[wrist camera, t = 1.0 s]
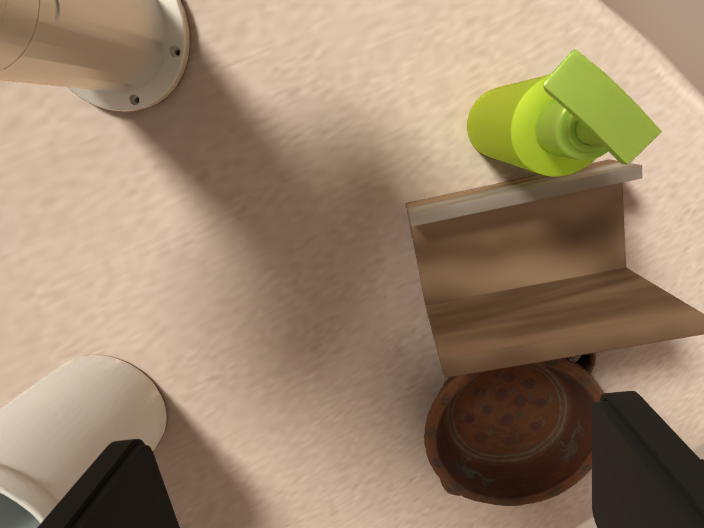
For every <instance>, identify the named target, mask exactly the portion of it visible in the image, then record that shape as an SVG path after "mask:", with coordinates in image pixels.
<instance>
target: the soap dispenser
mask: <svg viewBox="0 0 704 528" xmlns="http://www.w3.org/2000/svg"><path fill="white" fill-rule="evenodd" d="M467 131H468V136H469V139H470V141H471V143H472V145H473V146H474V147H475V148H476V149H477V150H478V151H479V152H480V153H482V154H483V155H485V156H488V157H491V158H494V159H497V160H500V161H503V162H506V163H509V164H512V165H515V166H517V167H520V168H523V169H526V170H529V171H532V172H535V173H538V174H541V175H545V176H565V175H569V174H572V173H575V172H577V171H580V170H582V169H583V168H585V167H586V166H588V165H589V164H591V163H592V162H593V161H594V160H595V159H596V158H598V157H600V156H602V155H604V154H605V153H607V152H608V151H609V152H610V153H611V154H612V155H613V156H614V157H615V158H616V159H617V160H618V161H619V162H620V163H621V164H625V165H628V164H629V163H630V162H631V161H632V160H633V159H634V158H635V157H636V156H638V155H639V154H640V153H641V152H642V151H643V150H644V149H645V148H646V147H647V146H648V145H649V144H650V143H651V142H652V141H653V140H654V139H655V138H656V137H657V136H658V135H659V134H660V133H661V132H662V131H661V130H660V129H659V128H658V127H657V126H656V125H655V123H654V122H653V121H652V120H651V119H650V118H649V117H648V116H647V115H646V114H645V113H644V111H643V110H642V109H641V108H640V107H639V106H638V105H637V104H636V103H635V102H634V101H633V100H632V99H631V98H630V97H629V96H628V95H627V94H626V93H625V92H624V91H623V90H622V89H621V88H620V87H619V86H618V85H617V84H616V83H615V82H614V81H613V80H612V79H611V78H610V77H609V76H607V75H606V74H605V73H604V72H603V71H602V70H601V69H599V68H598V67H597V66H596V65H595V64H593V63H592V62H591V61H590V60H589V59H587V58H586V57H585V56H584V55H582V54H581V53H580V52H578V51H577V50H575V49H574V50H573V51H572V52H571V53H570V54H569V55H568V56H567V57H566V58H565V59H564V60H563V62H562V63H561V64H560V65H559V66H558V67H557V68H556V69H555V70H554V72H553V73H552V74H550V75H546V76H542V77H538V78H534V79H530V80H526V81H522V82H518V83H514V84H510V85H506V86H502V87H498V88H494V89H492V90H490V91H488V92H486V93H484V94H483V95H482V96H481V97H480V98H479V99H478V100H477V101H476V102H475V103H474V105H473V107H472V108H471V110H470V113H469V116H468V121H467Z"/></svg>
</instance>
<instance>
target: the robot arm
mask: <svg viewBox="0 0 704 528" xmlns="http://www.w3.org/2000/svg"><path fill="white" fill-rule="evenodd" d="M189 47H190V38H189V26H188V22H187V17H186V13H185V10H184V7H183V5H182V2H181V0H0V80H2V81H12V82H22V83H32V84H42V85H52V86H62V87H68V88H69V89H70V90H71V91H72V92H74V93H75V94H76V95H77V96H79V97H80V98H81V99H83V100H85V101H87V102H89V103H91V104H93V105H95V106H97V107H101V108H104V109H107V110H113V111H138V110H143V109H147V108H149V107H151V106H154V105H156V104H158V103H159V102H161V101H162V100H163V99H165V98H166V97H167V96H169V94H170V93H171V92H172V91H173V90H174V89H175V87H176V86H177V85H178V83H179V81H180V79H181V77H182V76H183V74H184V71H185V68H186V64H187V61H188V56H189ZM178 50H180V55H179V56H178V55H177V51H178ZM138 97H139V101H140V102H139V103H138V101H137V99H138ZM591 411H592V510H593V516H594V519H595V523H596V525H597V528H704V460H703V459H702V460H700V458H699V457H698V456H697V455H696V454H695V453H694V452H693V451H692V450H691V449H690V448H689V447H688V446H687V445H686V444H685V443H684V442H683V440H682V439H681V438H680V437H679V436H678V435H677V434H676V433H675V432H674V431H673V430H672V429H671V428H670V427H669V426H668V425H667V424H666V422H665V421H664V420H663V419H662V418H661V417H660V416H659V415H658V414H657V413H656V412H655V411H654V410H653V409H652V408H651V407H650V406H649V404H648V403H647V402H646V401H645V400H644V399H643V398H642V397H641V396H640V395H639V394H638V393H637V392H635V391H625V392H614V393H604V394H602V395H601V397H600V402H594V403H593V404H592V409H591ZM37 528H180V527H179V524H178V521H177V519H176V516H175V513H174V510H173V507H172V505H171V502H170V499H169V496H168V493H167V491H166V488H165V485H164V482H163V479H162V476H161V474H160V471H159V468H158V465H157V462H156V460H155V457H154V454H153V451H152V449H151V447H150V446H149V445H145V443H144V442H143V441H142V440H141V439H130V440H119V441H114V442H111V443H110V444H109V445H108V446H107V447H106V448H105V449H104V450H103V452H102V453H101V454H100V455H99V456H98V457H97V459H96V460H95V461H94V462H93V463H92V464H91V465H90V467H89V468H88V469H87V470H86V471H85V472H84V474H83V475H82V476H81V477H80V478H79V479H78V481H77V482H76V483H75V484H74V485H73V486H72V488H71V489H70V490H69V491H68V492H67V493H66V495H65V496H64V497H63V498H62V499H61V500H60V502H59V503H58V504H57V505H56V506H55V507H54V509H53V510H52V511H51V512H50V513H49V514H48V516H47V517H46V518H45V519H44V520H43V521H42V523H41V524H40V525H39V526H38V527H37Z"/></svg>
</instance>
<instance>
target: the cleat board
mask: <svg viewBox="0 0 704 528" xmlns="http://www.w3.org/2000/svg"><path fill="white" fill-rule="evenodd" d="M641 178H642V165H637V164H632V163H629V164H628V165H625V164H621V163H620V162H619V161H615V160H605V161H600V162H596V163H591V164H589V165H588V166H586V167H585V168H583V169H582V170H580V171H577V172H575V173H572V174H569V175H565V176H545V175H541V174H540V175H535V176H531V177H526V178H521V179H517V180H512V181H507V182H503V183H498V184H494V185H489V186H484V187H480V188H475V189H470V190H466V191H461V192H457V193H452V194H447V195H443V196H438V197H433V198H429V199H424V200H419V201H415V202H410V203H406V206H407V212H408V217H409V222H410V227H411V232H412V238H413V243H414V248H415V253H416V258H417V263H418V269H419V274H420V279H421V284H422V289H423V294H424V300H425V305H426V310H427V314H428V318H429V321H430V325H431V329H432V333H433V336H434V340H435V344H436V348H437V351H438V355H439V359H440V362H441V366H442V370H443V374H444V377H445V378H446V377H452V376H458V375H464V374H470V373H476V372H482V371H488V370H494V369H500V368H506V367H512V366H518V365H524V364H530V363H536V362H542V361H548V360H554V359H560V358H566V357H572V356H578V355H584V354H589V353H595V352H601V351H607V350H613V349H619V348H625V347H631V346H637V345H643V344H649V343H655V342H661V341H667V340H673V339H679V338H685V337H691V336H697V335H703V334H704V314H703V313H701V312H700V311H698V310H696V309H695V308H693V307H691V306H690V305H688V304H686V303H685V302H683V301H681V300H680V299H678V298H676V297H674V296H673V295H671V294H669V293H668V292H666V291H664V290H663V289H661V288H659V287H658V286H656V285H654V284H653V283H651V282H649V281H648V280H646V279H644V278H643V277H641V276H639V275H638V274H636V273H634V272H633V271H631V270H629V269H627V268H626V258H625V235H624V212H623V189H622V182H627V181H631V180H636V179H641Z"/></svg>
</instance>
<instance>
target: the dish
mask: <svg viewBox="0 0 704 528" xmlns="http://www.w3.org/2000/svg"><path fill="white" fill-rule="evenodd" d="M595 359H596V352H595V353H589V354H584V355H581V357H580V358H579V360H578V361H577V362H572V361H569V360H568V359H566V358H560V359H554V360H548V361H542V362H536V363H530V364H524V365H518V366H512V367H506V368H500V369H494V370H488V371H482V372H476V373H470V374H464V375H458V376H452V377H449V378H448V380H447V381H446V382H445V384H444V385H443V387H442V388H441V390H440V393H439V395H438V396H437V398H436V399H435V401H434V403H433V404H432V407H431V410H430V412H429V414H428V417H427V422H426V426H425V435H424V439H425V448H426V453H427V456H428V459H429V462H430V464H431V466H432V467H433V469H434V471H435V473H436V474H437V475H438V477H439V478H440V480H441V483H442V486H443V487H444V489H445V490H446V491H447V492H448V493H450V494H453V495H457V496H461V495H462V496H463V497H465V498H468V499H471V500H474V501H478V502H483V503H489V504H494V505H503V506H519V505H524V504H530V503H535V502H539V501H543V500H546V499H549V498H552V497H554V496H557V495H559V494H560V493H562V492H564V491H566V490H567V489H568V488H570V487H571V486H573V485H574V484H576V483H577V482H578V481H579V480H581V479H582V478H583V477H584V476H585V475H586V474H587V473H588V472H589V471H590V469H591V468H592V411H591V409H592V404H593V403H594V402H600V397H601V395H602V394H604V392H603V390H602V389H601V387H600V386H599V384H598V383H597V382H596V381H595V379H594V378H593V376H592V375H591V371H592V369H593V367H594V365H595Z"/></svg>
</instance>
